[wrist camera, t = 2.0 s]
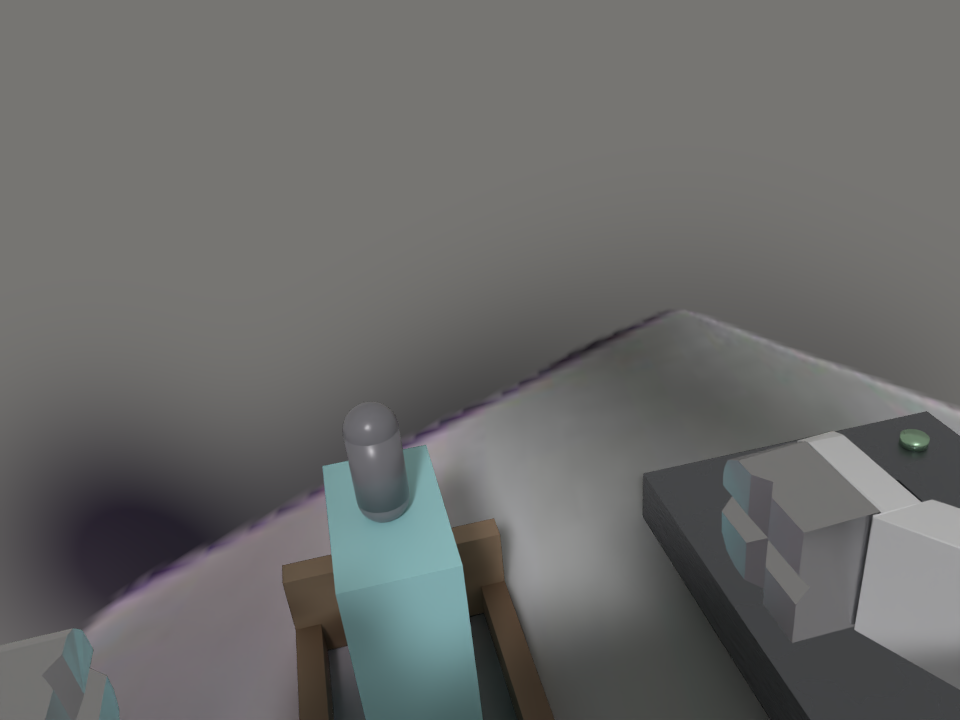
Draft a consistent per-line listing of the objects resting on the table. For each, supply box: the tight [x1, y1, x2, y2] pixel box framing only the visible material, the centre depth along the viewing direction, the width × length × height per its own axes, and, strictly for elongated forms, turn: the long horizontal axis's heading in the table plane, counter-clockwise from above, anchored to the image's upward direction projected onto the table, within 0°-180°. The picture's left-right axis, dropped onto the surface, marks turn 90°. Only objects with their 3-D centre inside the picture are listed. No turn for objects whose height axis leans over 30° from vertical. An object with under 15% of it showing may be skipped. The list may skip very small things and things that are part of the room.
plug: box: [322, 401, 483, 720], centre depth 26 cm, size 4×6×14 cm, turn 13°
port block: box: [643, 411, 960, 720], centre depth 32 cm, size 14×16×3 cm
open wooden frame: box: [282, 518, 554, 720], centre depth 29 cm, size 8×11×4 cm
